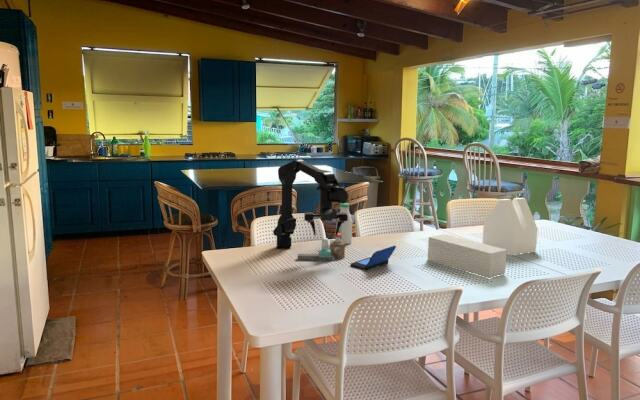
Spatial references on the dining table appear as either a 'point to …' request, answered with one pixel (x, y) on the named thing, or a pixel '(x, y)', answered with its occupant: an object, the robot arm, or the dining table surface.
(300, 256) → the rail
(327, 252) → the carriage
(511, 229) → the beige tapered block
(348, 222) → the milk bottle
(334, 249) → the cabinet
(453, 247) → the beige long block
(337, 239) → the plunger
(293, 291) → the dining table surface
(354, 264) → the handheld game console
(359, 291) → the dining table surface
